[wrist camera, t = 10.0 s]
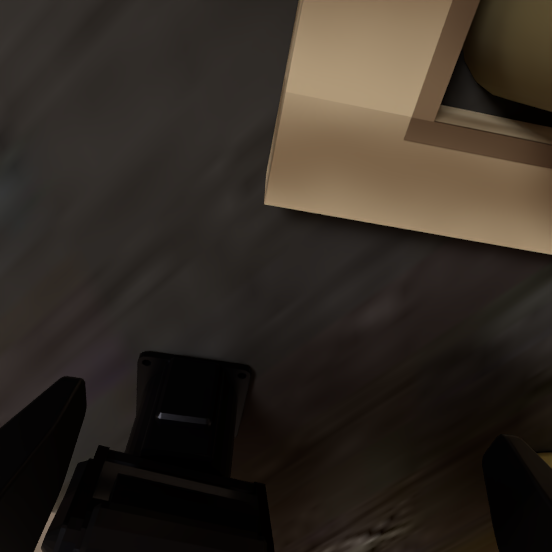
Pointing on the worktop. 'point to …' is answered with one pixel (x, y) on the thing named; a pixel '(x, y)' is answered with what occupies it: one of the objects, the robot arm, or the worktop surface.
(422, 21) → the socket board
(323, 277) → the worktop surface
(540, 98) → the cork
